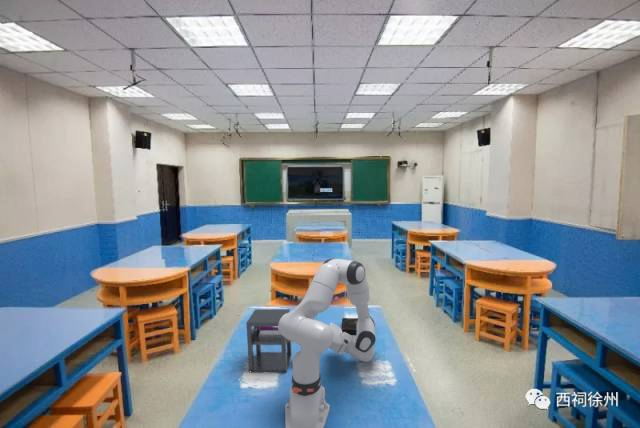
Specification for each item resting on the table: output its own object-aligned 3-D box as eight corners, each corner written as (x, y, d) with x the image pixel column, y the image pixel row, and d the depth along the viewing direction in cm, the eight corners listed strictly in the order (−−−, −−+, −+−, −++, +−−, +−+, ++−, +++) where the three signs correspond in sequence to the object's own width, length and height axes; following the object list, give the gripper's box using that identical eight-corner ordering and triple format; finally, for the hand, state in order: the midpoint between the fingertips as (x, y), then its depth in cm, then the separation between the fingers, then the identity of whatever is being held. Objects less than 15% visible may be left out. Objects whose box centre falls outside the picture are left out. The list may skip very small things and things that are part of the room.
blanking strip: (305, 338, 158) (304, 334, 158) (258, 337, 160) (258, 334, 160) (305, 334, 162) (305, 330, 162) (260, 334, 164) (260, 330, 164)
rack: (287, 372, 154) (285, 322, 152) (249, 372, 156) (246, 322, 153) (292, 355, 170) (290, 309, 168) (257, 354, 172) (255, 309, 169)
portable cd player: (367, 323, 206) (367, 317, 206) (368, 336, 189) (368, 330, 189) (342, 323, 208) (342, 317, 208) (341, 335, 191) (341, 329, 191)
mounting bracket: (269, 340, 199) (256, 341, 183) (271, 326, 202) (258, 325, 186) (283, 342, 197) (271, 342, 180) (284, 327, 199) (273, 327, 183)
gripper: (346, 327, 169) (323, 314, 169) (347, 346, 149) (321, 333, 149) (340, 336, 170) (318, 324, 170) (340, 357, 150) (315, 343, 150)
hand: (319, 328), depth 160 cm, fingers open, 8 cm apart
